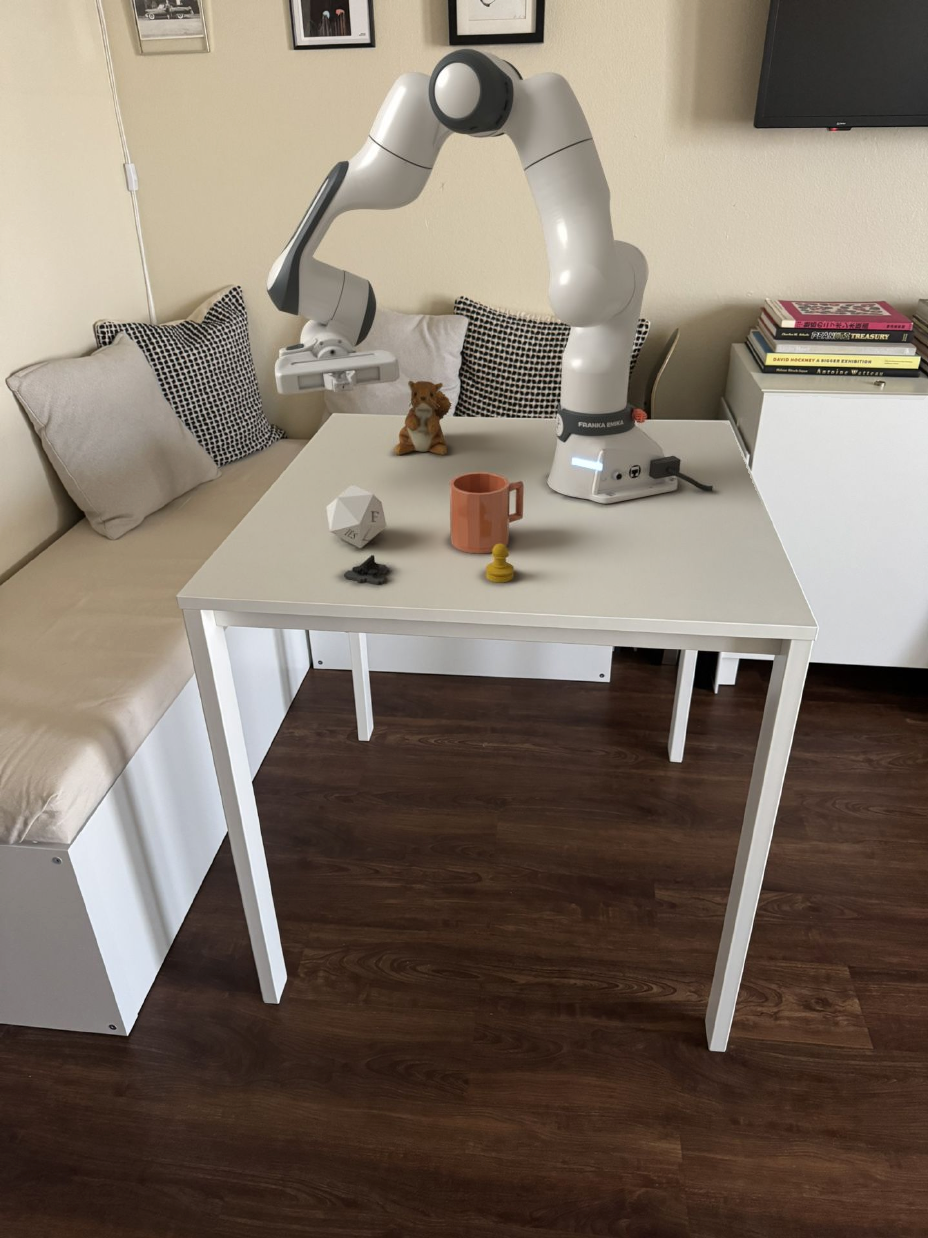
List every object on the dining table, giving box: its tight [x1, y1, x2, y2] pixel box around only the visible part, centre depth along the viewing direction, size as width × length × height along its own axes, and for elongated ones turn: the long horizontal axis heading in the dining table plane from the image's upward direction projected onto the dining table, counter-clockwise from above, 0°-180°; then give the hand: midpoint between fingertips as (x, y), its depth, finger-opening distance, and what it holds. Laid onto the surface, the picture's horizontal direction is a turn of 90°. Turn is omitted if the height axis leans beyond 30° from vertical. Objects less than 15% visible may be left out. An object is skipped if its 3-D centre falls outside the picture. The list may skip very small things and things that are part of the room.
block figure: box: [343, 554, 390, 586], centre depth 128 cm, size 6×2×6 cm
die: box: [325, 484, 387, 550], centre depth 136 cm, size 8×9×10 cm
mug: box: [449, 471, 525, 555], centre depth 136 cm, size 12×9×10 cm
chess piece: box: [485, 544, 515, 583], centre depth 126 cm, size 4×4×5 cm
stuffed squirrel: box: [393, 380, 452, 456], centre depth 172 cm, size 10×14×13 cm
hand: (343, 386), depth 141 cm, fingers closed
